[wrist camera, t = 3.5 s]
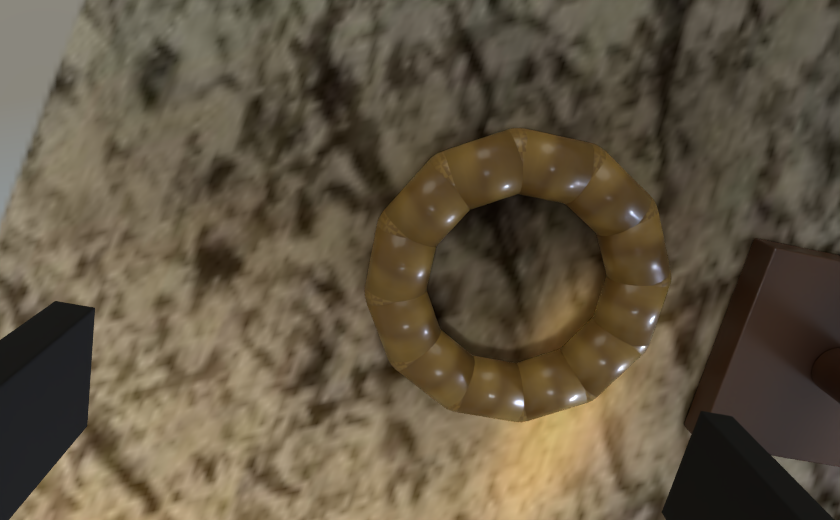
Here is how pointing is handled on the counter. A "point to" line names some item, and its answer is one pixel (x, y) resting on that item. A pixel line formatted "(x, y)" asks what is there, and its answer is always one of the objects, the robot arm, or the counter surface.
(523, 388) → the ring
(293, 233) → the counter surface
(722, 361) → the post
